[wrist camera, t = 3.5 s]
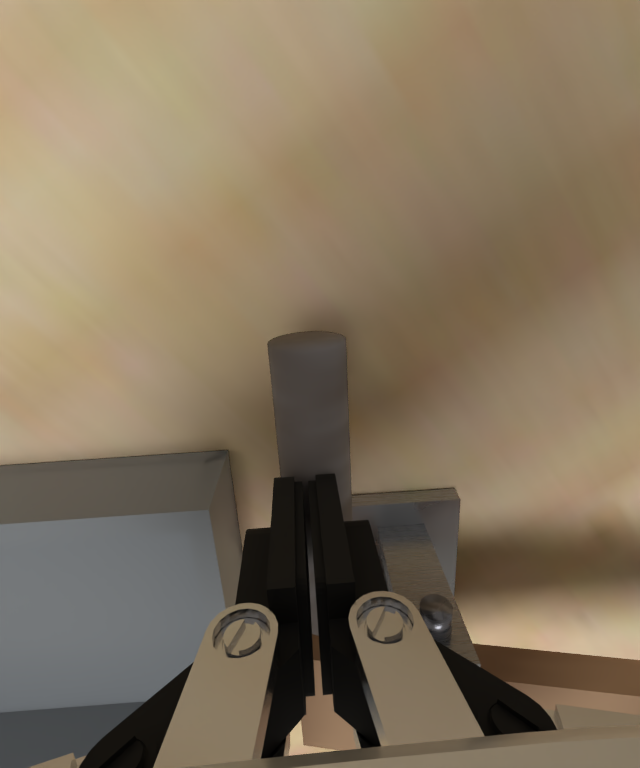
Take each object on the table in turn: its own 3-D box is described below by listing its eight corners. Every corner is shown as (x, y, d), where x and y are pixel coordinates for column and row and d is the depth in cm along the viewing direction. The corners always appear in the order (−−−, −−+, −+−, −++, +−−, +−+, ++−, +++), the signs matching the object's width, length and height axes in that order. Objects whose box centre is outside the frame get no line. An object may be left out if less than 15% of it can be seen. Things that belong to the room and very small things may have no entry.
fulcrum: (454, 488, 19) (536, 632, 13) (445, 637, 22) (507, 817, 16) (339, 496, 19) (360, 645, 13) (346, 644, 22) (366, 828, 16)
